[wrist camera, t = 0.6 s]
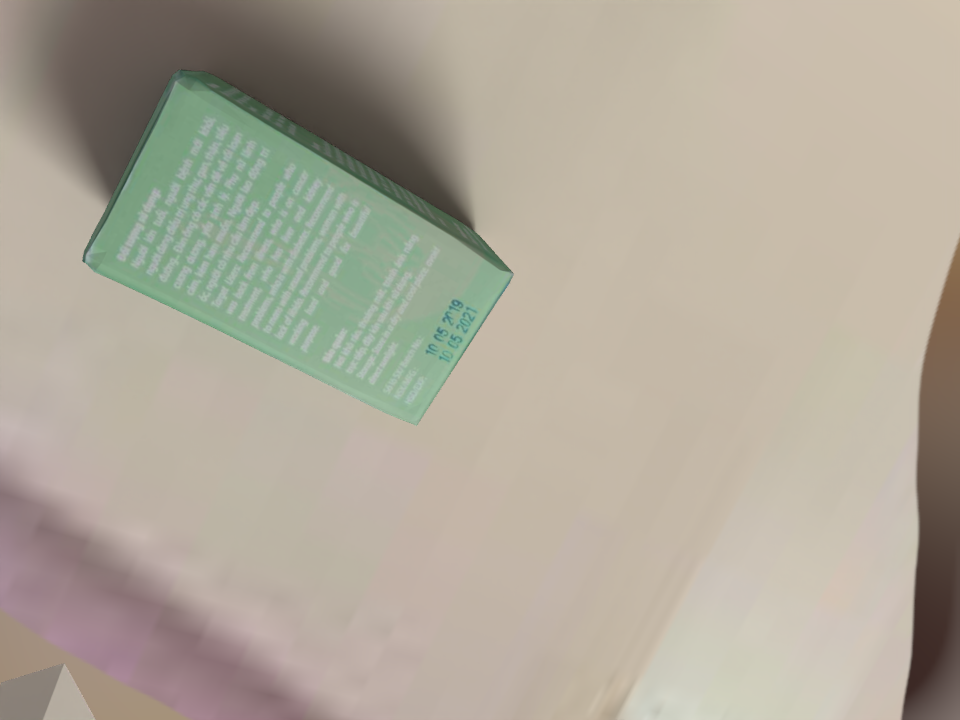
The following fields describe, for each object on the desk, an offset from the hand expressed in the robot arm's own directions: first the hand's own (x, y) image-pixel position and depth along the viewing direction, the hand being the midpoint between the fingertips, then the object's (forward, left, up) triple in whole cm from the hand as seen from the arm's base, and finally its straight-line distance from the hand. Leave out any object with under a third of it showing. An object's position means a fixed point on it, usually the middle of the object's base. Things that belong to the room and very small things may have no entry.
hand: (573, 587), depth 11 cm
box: (-1, -3, -26) cm, 27 cm away
